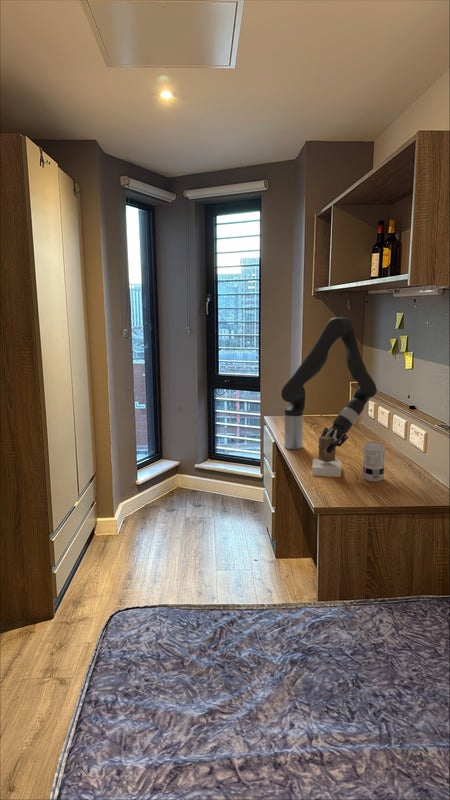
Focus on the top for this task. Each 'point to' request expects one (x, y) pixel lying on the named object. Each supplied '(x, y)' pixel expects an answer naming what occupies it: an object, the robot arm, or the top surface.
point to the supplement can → (373, 461)
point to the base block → (326, 468)
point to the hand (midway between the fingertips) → (323, 450)
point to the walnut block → (323, 446)
